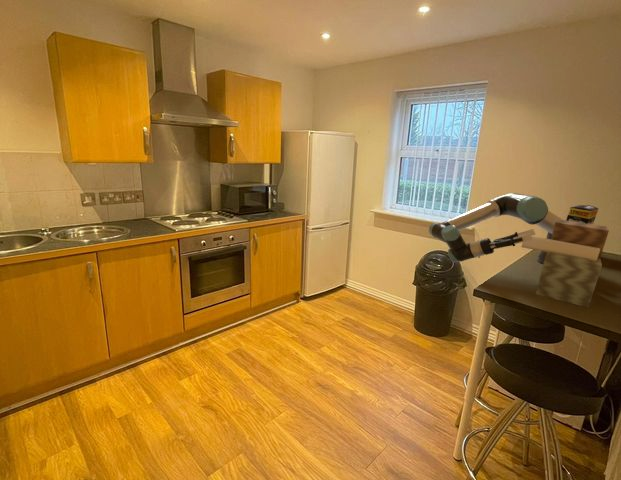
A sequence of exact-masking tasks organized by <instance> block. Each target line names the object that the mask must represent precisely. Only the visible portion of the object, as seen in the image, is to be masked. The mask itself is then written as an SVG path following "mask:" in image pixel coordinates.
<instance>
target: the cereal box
mask: <svg viewBox="0 0 621 480" xmlns="http://www.w3.org/2000/svg"><path fill="white" fill-rule="evenodd" d="M598 212H599V207H596V206H594V205H589V204H587V205H582V204H580V205H573V206H571V207H569V210H568V214H567V215H566V219H565V220H566V221H573V222H579V223H586V224H593V225H594V223H595V219H596V217H597V215H598Z"/></svg>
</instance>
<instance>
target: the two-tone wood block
mask: <svg viewBox="0 0 621 480" xmlns="http://www.w3.org/2000/svg"><path fill="white" fill-rule="evenodd" d="M609 232H610V230H609V228H608V226H607V225H606V226H605V225H598V224H594V223H593V224H586V223H579V222H573V221H566V219H563V220H559V219H557V220H556V222H555V226H554V230H553V233H552V237H551V240H556V241H562V242H567V243H573V244H579V245H584V246H590V247H595V248H600V252H599V255H598V258H597V262H594V261H589V260H584V259H579V258H574V257H569V256H564V255H559V254H553V253H548V252H547V254H546V257H545V261H544V264H543V266H542V269H541V271H540V272H541V273H540V277H539V280H538V284H537V288H536V291H535V295H537V296H543V297H546V298H550V299H554V300H558V301H560V302H561V301H562V302H566V303H569V304H573V305H577V306H580V307H584V308H589V307H590V304H591V302H592V299H593V298H592V297H593V294H594V291H595V290H596V286H597V283H598V279H599V277H600V273H601V270H602V267H603V264H602V261H601V257H602V253H603V252H604V251H603V250H604V248H605V244H606V241H607V239H608V235H609Z"/></svg>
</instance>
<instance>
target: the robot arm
mask: <svg viewBox="0 0 621 480" xmlns="http://www.w3.org/2000/svg"><path fill="white" fill-rule="evenodd" d="M501 216H510V217H512V218H513V217H515V218H517V219H520V220H522V221H523V222H525V223H526V224H528V225H536V226H537V227H539V228H541V229H543V230H544V231H546V232H547V234H546V237H545V239H551V237H552V233H553V230H554V226H555V222H556V220H557V219H559V220H564V219H563V218H561V217H560V216H558V215H556V214H555V213H553V212H552V211H550V210H549V206H548V203H547V202H546V201H545V200H544V199H543V198H541V197H538V196H535V195H528V194H521V193H518V192H517V193H516V192H510V193H506V194H502V195H500V196H497V197H494V198H491V199H489V200H488V201H487V203H485V204H483V205H480V206H478V207H476V208H473V209H471V210H468V211H466V212H464V213H462V214H459V215H457V216H454V217H453V218H450V219H448V220H446V221H443V222H441V223H440V222H433V223H432V224H431V225H429V227H428V233H429V235H431V236H432V237H433V238H435V239H437V240H439V241H441V242H443V243H445V244H446V245H447V246H448V248H449V249H448V250H447V253H448V257H449V260H450V261H451V262H452V263H458V262H464V261H468V260H470V259H475V258H478V259H480V258H481V257H483V256H485V255H486V256H487V255H491V254H494V252H495V249H501V248H506V247H516V245H517V244H522V243H523V242H525V241H529V240H532V236H535V235H536V232H535V230H534V228H533V229H528V230H524V231H522V232H518V231H515V232H514V233H513V234H510V235H507V236H504V237H500V238H496V239H493V241H491V239H490V238H488V237H487V238H483V239H480V240H476V241H472V242H469V243H466V242H465V240H464V238H463V237H462V235H461V232H460V231H462V230H466V229H467V228H470V227H472V226H475V225H477V224H479V223H481V222H483V221H486V220H489V219H490V218H493V217H494V218H497V217H501ZM546 254H547V252H543V251H540V253H539V255H538V256H537V258H536V259H537V261H536V262H538V263H540V264H543V265H544V261H545V257H546Z"/></svg>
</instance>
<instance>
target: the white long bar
mask: <svg viewBox="0 0 621 480" xmlns="http://www.w3.org/2000/svg"><path fill="white" fill-rule="evenodd" d="M521 248H524V249H529V250H535V251H539V252H542V251H543V252H548V253H553V254H559V255H564V256H569V257H574V258H579V259H584V260H589V261H594V262H597V258H598V255H599V252H600V248H595V247H590V246H584V245H579V244H573V243H567V242H562V241H556V240H551V239H546V237H545V238H544V237H539V236H535V235H532V240H529V241H525V242H521Z"/></svg>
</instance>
